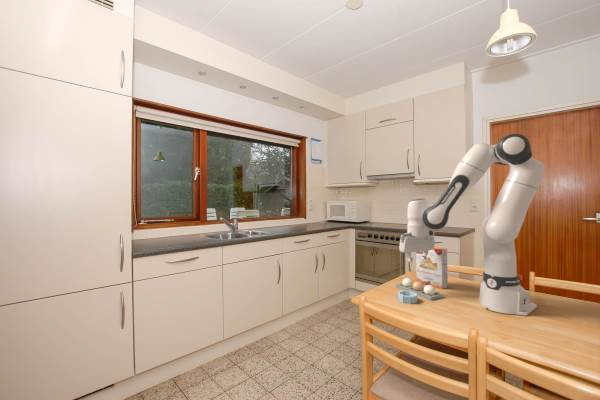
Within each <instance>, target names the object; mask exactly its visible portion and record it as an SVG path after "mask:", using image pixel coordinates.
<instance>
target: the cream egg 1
mask: <svg viewBox="0 0 600 400" xmlns="http://www.w3.org/2000/svg"><path fill="white" fill-rule="evenodd" d="M401 283H402V284H403V286H404V287H407V288H409V287H412V285H413V283H414V282H413V280H412V279H411V278H410V277H406V278H403V280H402V282H401Z"/></svg>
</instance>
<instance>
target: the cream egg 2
mask: <svg viewBox="0 0 600 400" xmlns="http://www.w3.org/2000/svg"><path fill="white" fill-rule="evenodd" d="M435 292H436V289H435V287H433V286H431V285H424V293H425V294H426V295H429V296H433V295H434V294H435Z"/></svg>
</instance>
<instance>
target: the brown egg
mask: <svg viewBox="0 0 600 400" xmlns="http://www.w3.org/2000/svg"><path fill="white" fill-rule="evenodd" d="M412 287H413V289H414V290H415V291H418V292H420V291H423V289H424V287H425V285H423V284H422V283H421V282H418V281H417V280H416V281H415V282H413V285H412Z"/></svg>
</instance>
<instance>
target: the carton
mask: <svg viewBox="0 0 600 400" xmlns="http://www.w3.org/2000/svg"><path fill="white" fill-rule="evenodd" d="M395 288H397V289H400V290H401V291H402V290H405V291H412V292H415V293H417V297H418V296H419V297H420V298H423V299H426V300H428V301H434V300H438V299H442V298H444V294H443V293H440V292H438V291H435V294H434V295H433V296H429V295H426V294H425V293H424V289H423V291H420V292H418V291H415V290H414V289H413V287H409V288H407V287H404V286H403V284H402V282H401V283H395Z"/></svg>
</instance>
